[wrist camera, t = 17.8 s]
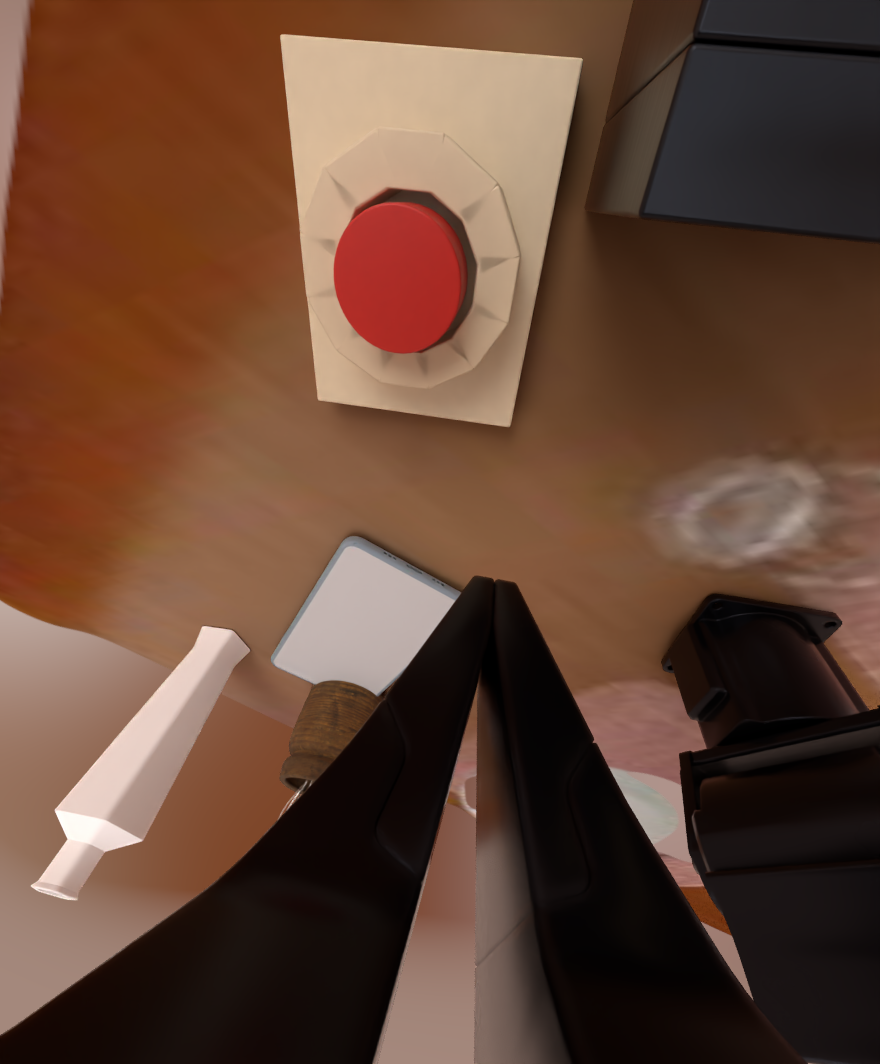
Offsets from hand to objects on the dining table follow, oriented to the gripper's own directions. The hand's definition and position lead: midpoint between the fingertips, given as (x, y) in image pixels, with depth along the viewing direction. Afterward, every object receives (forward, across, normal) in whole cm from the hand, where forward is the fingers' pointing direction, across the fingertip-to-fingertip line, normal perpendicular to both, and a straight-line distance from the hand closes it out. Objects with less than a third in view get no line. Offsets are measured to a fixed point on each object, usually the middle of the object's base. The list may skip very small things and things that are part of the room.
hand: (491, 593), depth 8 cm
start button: (+9, +4, -4) cm, 10 cm away
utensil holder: (+11, +8, +25) cm, 28 cm away
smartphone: (+11, +7, +17) cm, 21 cm away
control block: (+11, +4, -4) cm, 13 cm away
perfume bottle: (+11, +18, +22) cm, 30 cm away
